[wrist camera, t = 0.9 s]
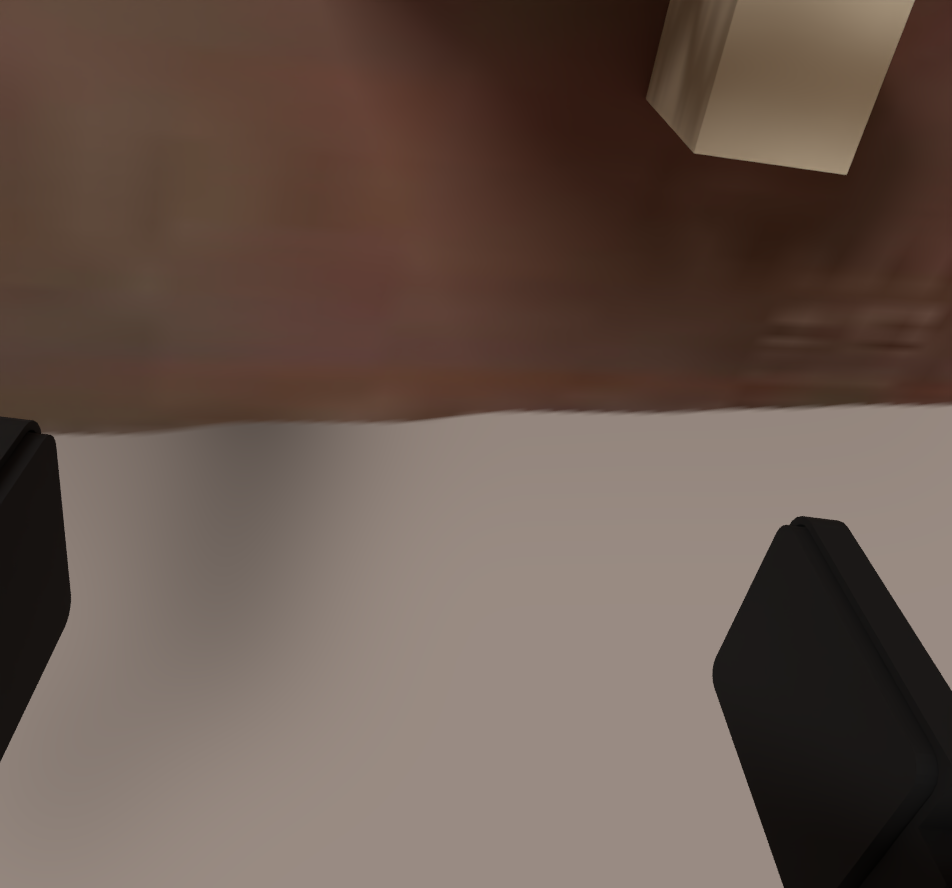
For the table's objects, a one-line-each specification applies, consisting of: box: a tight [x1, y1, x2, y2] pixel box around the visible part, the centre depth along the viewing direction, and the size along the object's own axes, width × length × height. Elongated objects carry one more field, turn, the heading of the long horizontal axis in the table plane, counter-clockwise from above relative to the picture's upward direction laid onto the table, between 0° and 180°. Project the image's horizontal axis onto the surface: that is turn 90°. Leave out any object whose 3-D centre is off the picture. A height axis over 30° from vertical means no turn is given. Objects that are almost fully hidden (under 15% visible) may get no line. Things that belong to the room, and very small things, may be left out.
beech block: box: [646, 0, 915, 175], centre depth 28 cm, size 5×5×7 cm
